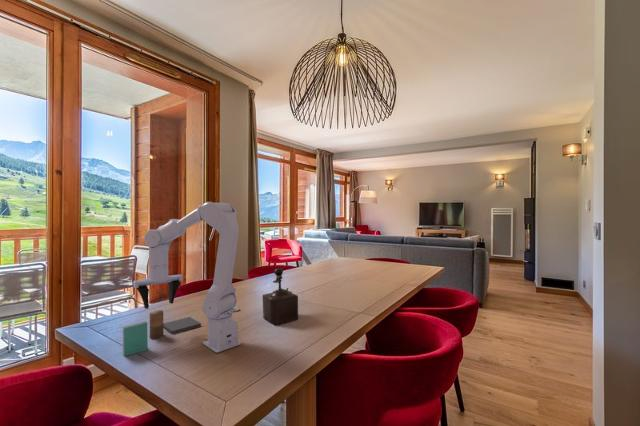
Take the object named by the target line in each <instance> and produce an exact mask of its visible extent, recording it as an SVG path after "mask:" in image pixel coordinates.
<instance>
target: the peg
mask: <svg viewBox="0 0 640 426" xmlns="http://www.w3.org/2000/svg"><path fill="white" fill-rule="evenodd" d="M163 323H164V310H160V309H159V310H153V311H150V312H149V339H151V340H154V339H160V338H163V336H164V328H163Z"/></svg>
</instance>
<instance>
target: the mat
mask: <svg viewBox="0 0 640 426" xmlns="http://www.w3.org/2000/svg"><path fill="white" fill-rule="evenodd" d="M201 326H202V323H201V322H199V321H198V320H196V319H195V318H192V317H191V316H188V317H184V318H180V319H175V320H171V321H167V322H163V330H165V331H167V332H168V333H169V334H171V335H173V334H177V333H180V332H185V331H188V330H191V329H195V328H199V327H201Z"/></svg>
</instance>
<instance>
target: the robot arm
mask: <svg viewBox="0 0 640 426" xmlns="http://www.w3.org/2000/svg"><path fill="white" fill-rule="evenodd" d="M237 212H238V210H236V209H235V207H234V206H233V205H232V203H228V202H212V201H206V202H204V203H203V204H201V205H198V207H197V208H195V209H194V210H193V211H191V212H190V213H187V214H186V215H185V216H184V217H182V218H181V219H179V218H171V219H169V220H168V222H167V223H164V225H160V226H158V228H157V229H149V230H148V231H147V232H146V233H145V234H144V238H143V239H144V243H145V245H146V246H147V247H148V278H143V279H137V280H133V283H132V284H133V288H134V289H136V290H137V291H138V293H139V295H140V297H141V299H142V302H143V307H144V309H145V310H147V309H149V307H150V306H149V305H150V304H149V292H150V288H148V286H153V285H161V284H166V283H168V284H167V285H168V302H169V304H170V305H171V304H174V301H175V298H176V297H175V296H176V294H177V291H178V289H179V288H180V286H181V282H182V281H183V274H173V275H169V250H171V249H170V246H171V243H172V242H173V241H174V240H175V239H177V238H179V237H181V236H183V235H185V234H186V232H187V231H186V230H187V229H188V228H190V227H192V226H194V225H197V224H199V223H200V222H205V224H207V225H209V226H210V227H211V228H213V229H214V230H216V231H217V233H218V234H219V238H218V246H217V253H216V261H215V267H214V274H213V279H212V280H213V283H212V285H211V287H210V288H209V289H208V291H206V297H205V299H204V300H203V301H202V305H201V307H202V312H203V314H204V315H205V316H206V319H207V340H205V341H202V344H203V345H204V346H206V347H208V349H210V350H212V351H213V352H215V353H216V354H217V353H220V352H224V351H226V350H229V349H231V348H234V347H237V346H240V345H241V342H240V341H239V331H238V329H239V326H238V323H237V321H236V320H235V319H234V317H233V313H234V312H233V308H234V307H236V306H237V303H238V300H237V295H236V290H237V289H236V287H234V285H232V284H233V283H232V282H233V276H234V269H235V264H236V263H235V261H236V254H237V248H238V240H239V233H240V231H239V230H240V227H239V224H238V223H239V222H238V220H237V215H238V213H237Z"/></svg>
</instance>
